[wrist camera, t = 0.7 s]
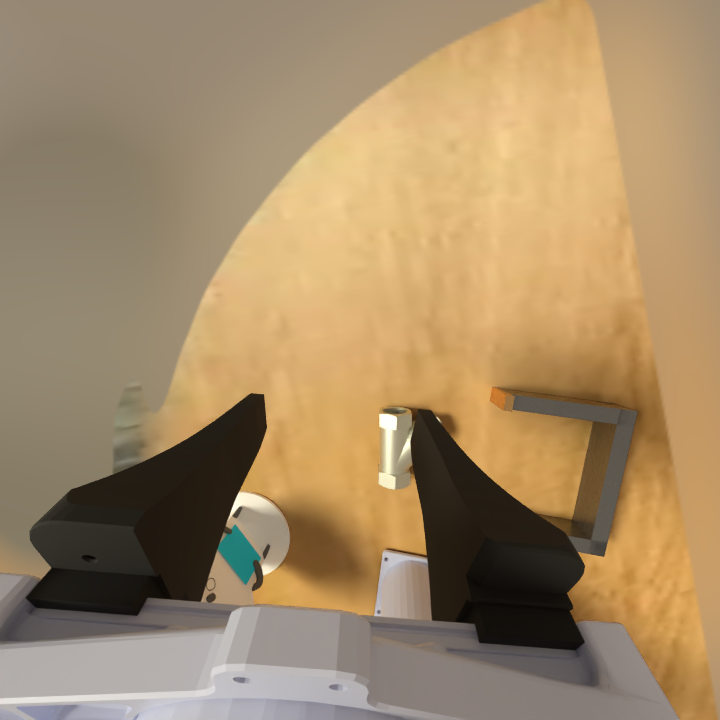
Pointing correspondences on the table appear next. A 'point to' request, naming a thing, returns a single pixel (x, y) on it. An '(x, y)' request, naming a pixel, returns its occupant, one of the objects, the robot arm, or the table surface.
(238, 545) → the panda figurine
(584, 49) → the table surface
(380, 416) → the pipe fitting
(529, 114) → the table surface
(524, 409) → the grey u-shaped frame
